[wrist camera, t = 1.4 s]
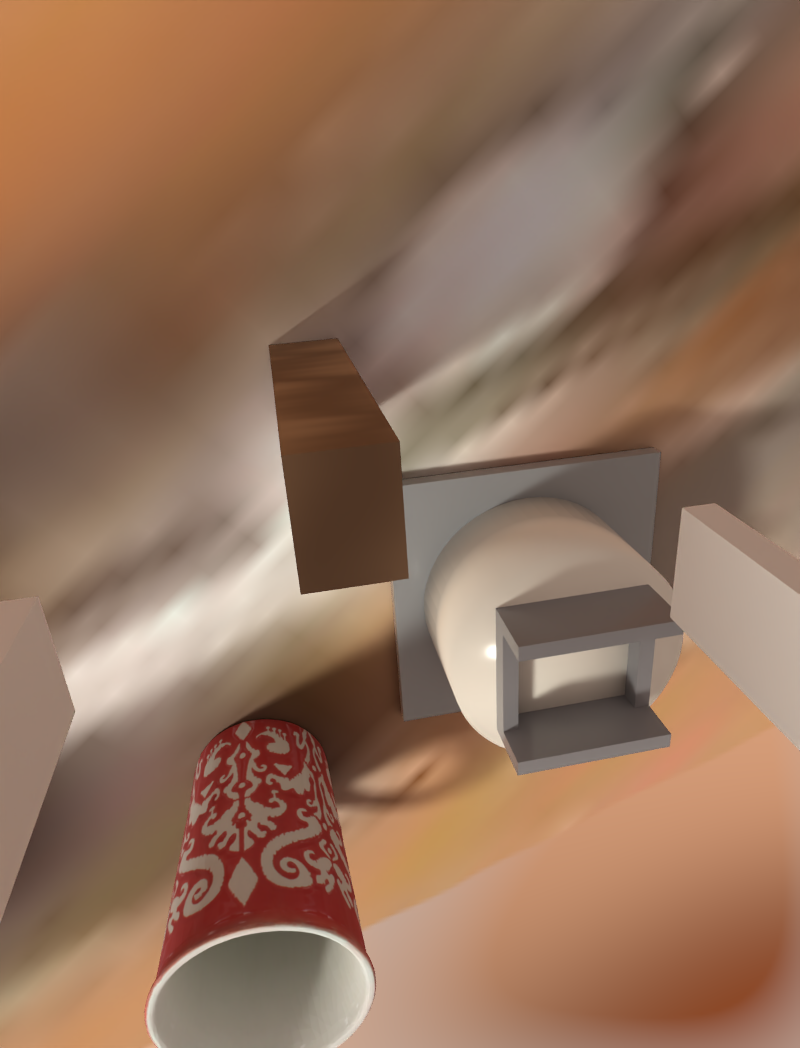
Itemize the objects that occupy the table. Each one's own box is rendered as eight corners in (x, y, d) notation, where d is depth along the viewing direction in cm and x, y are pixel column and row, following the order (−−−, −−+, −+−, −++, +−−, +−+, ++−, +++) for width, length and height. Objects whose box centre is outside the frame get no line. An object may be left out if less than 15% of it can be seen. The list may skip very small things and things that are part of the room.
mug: (154, 727, 38) (109, 972, 26) (321, 684, 39) (352, 901, 27) (221, 886, 44) (209, 1149, 32) (366, 845, 45) (409, 1086, 33)
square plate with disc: (401, 712, 41) (441, 853, 32) (382, 482, 35) (426, 577, 26) (633, 671, 43) (731, 794, 34) (653, 447, 37) (777, 525, 28)
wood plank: (281, 433, 33) (301, 594, 20) (268, 345, 31) (281, 455, 18) (346, 425, 34) (408, 578, 20) (337, 338, 32) (400, 441, 18)
